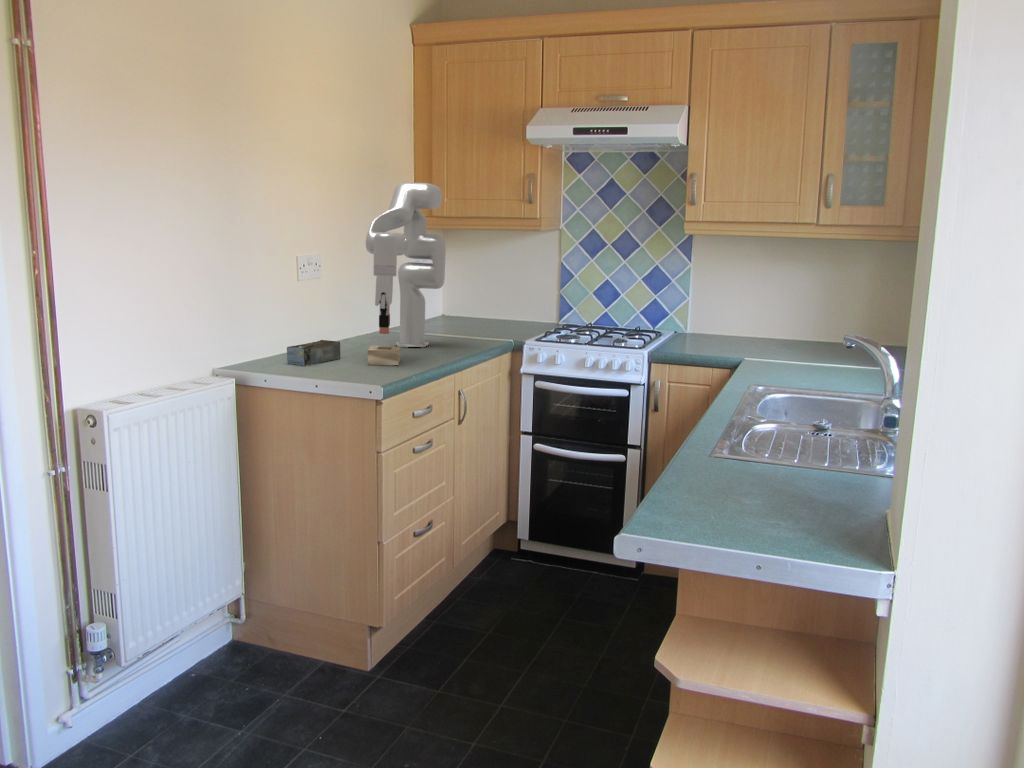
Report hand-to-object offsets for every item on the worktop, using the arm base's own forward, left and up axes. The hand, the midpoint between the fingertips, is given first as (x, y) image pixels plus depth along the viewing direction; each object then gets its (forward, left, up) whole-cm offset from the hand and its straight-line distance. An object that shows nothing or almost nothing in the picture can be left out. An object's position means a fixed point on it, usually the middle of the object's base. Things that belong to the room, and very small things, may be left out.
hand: (384, 326), depth 287 cm
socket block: (0, 0, -13) cm, 13 cm away
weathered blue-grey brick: (0, -23, -13) cm, 27 cm away
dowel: (0, 0, -2) cm, 2 cm away
